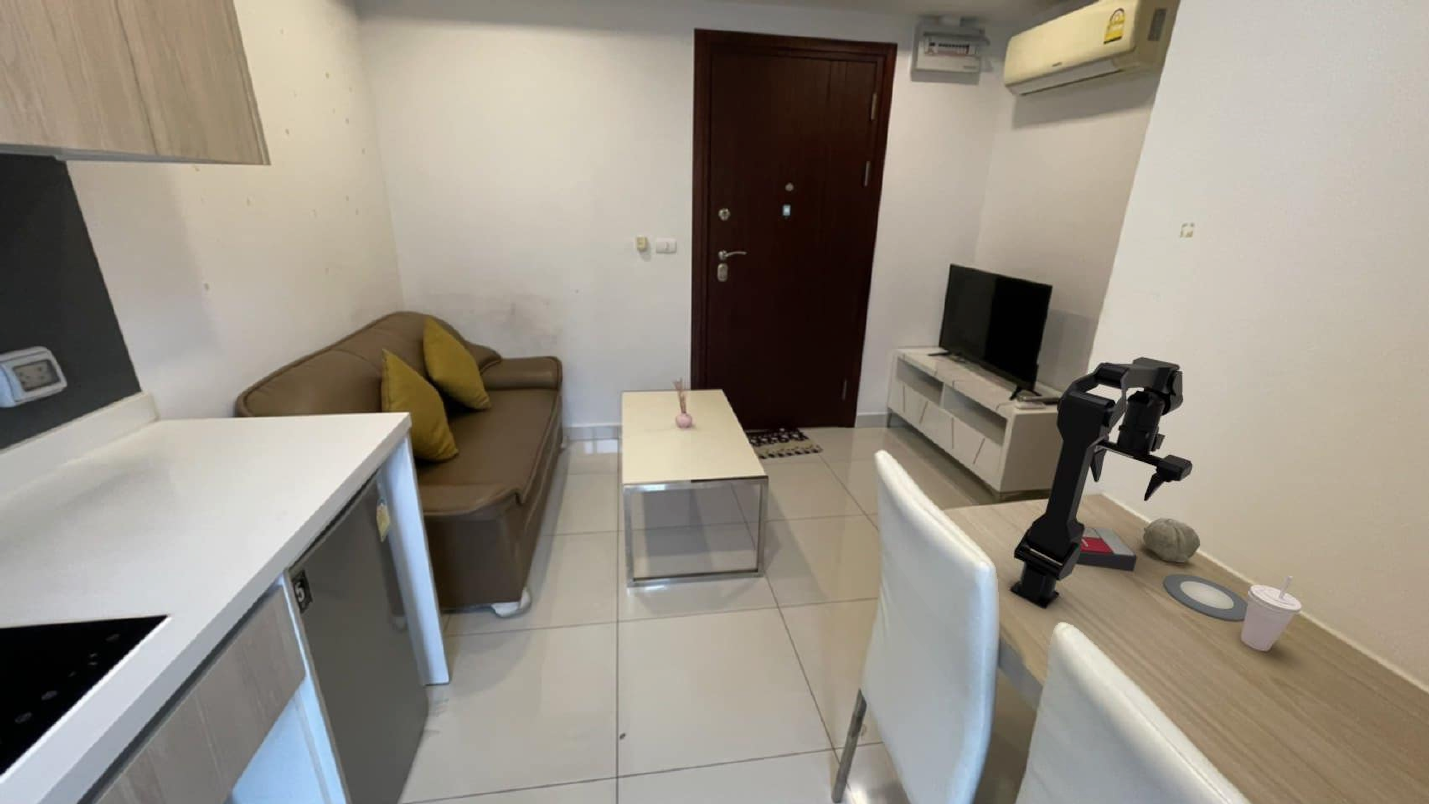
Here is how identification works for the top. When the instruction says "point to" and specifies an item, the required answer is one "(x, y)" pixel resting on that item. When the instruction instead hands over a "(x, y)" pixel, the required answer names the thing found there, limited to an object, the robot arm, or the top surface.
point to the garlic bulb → (1171, 539)
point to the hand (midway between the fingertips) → (1120, 490)
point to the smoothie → (1267, 615)
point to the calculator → (1105, 550)
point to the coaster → (1206, 597)
